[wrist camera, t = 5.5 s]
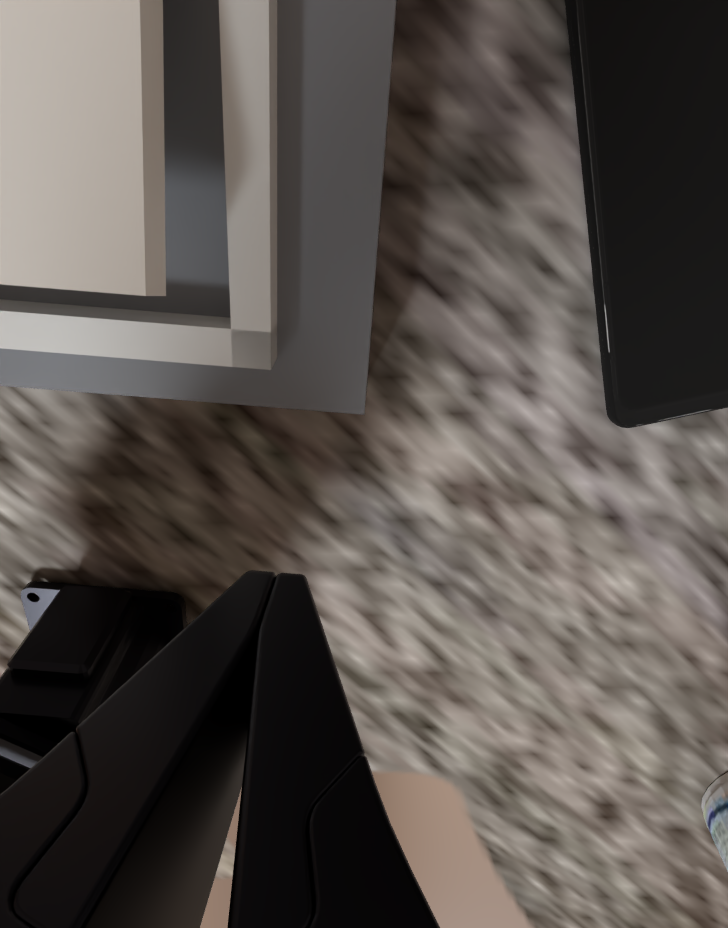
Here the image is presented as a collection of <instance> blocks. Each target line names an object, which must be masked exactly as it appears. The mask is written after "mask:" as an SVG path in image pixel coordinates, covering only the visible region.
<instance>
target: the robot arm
mask: <svg viewBox="0 0 728 928" xmlns="http://www.w3.org/2000/svg"><path fill="white" fill-rule="evenodd" d="M34 593H36V594H37V595H36V594H34ZM21 599H22V602H23V606H24V610H25V614H26V617H27V621H28V625H29V629H30V632H29V633H28V635H27V636H26V638H25V639H24V640H23V642H22V643H21V645H20V646H19V647H18V649H17V650H16V651H15V653H14V654H13V656H12V657H11V658H10V660H9V661H8V664H7V665H8V668H7V669H6V670H5V672H4V673H3V675H2V676H1V677H0V928H200V925H201V922H202V918H203V915H204V912H205V908H206V905H207V901H208V898H209V894H210V891H211V888H212V885H213V881H214V878H215V874H216V871H217V868H218V864H219V861H220V858H221V854H222V851H223V847H224V844H225V841H226V837H227V834H228V830H229V827H230V824H231V820H232V817H233V814H234V810H235V807H236V804H237V800H238V797H239V793H240V790H241V787H242V791H241V801H240V811H239V821H238V831H237V841H236V850H235V860H234V870H233V880H232V890H231V899H230V910H229V919H228V928H440V927H439V925H438V923H437V921H436V919H435V917H434V915H433V913H432V911H431V909H430V907H429V905H428V902H427V901H426V898H425V896H424V894H423V892H422V890H421V888H420V886H419V884H418V882H417V880H416V878H415V877H414V874H413V872H412V870H411V868H410V866H409V863H408V861H407V859H406V857H405V855H404V852H403V850H402V848H401V846H400V843H399V841H398V839H397V837H396V835H395V832H394V830H393V828H392V826H391V824H390V821H389V818H388V816H387V813H386V810H385V808H384V805H383V802H382V800H381V797H380V794H379V792H378V789H377V786H376V784H375V781H374V778H373V775H372V772H371V769H370V766H369V763H368V760H367V758H366V757H365V756H364V749H363V746H362V743H361V740H360V737H359V734H358V731H357V728H356V725H355V722H354V719H353V716H352V713H351V710H350V707H349V704H348V701H347V698H346V695H345V692H344V689H343V686H342V683H341V680H340V677H339V674H338V671H337V668H336V665H335V662H334V659H333V656H332V653H331V650H330V647H329V644H328V641H327V638H326V635H325V632H324V629H323V626H322V623H321V620H320V617H319V614H318V611H317V608H316V605H315V602H314V599H313V597H312V594H311V591H310V588H309V585H308V582H307V579H306V577H305V576H304V575H302V574H291V573H279V574H278V575H277V576H276V575H275V573H273V572H267V571H255V570H251V571H248V572H246V573H245V574H244V575H242V576H241V577H240V578H239V579H238V580H237V581H236V582H235V583H234V584H233V585H232V586H230V587H229V588H228V589H227V590H226V591H225V592H224V593H223V594H222V595H221V596H220V597H218V598H217V599H216V600H215V601H214V602H213V603H212V604H211V605H210V606H209V607H207V608H206V609H205V610H204V611H203V612H202V613H201V614H200V615H199V616H198V617H197V618H195V619H194V620H193V621H192V622H191V623H190V624H189V625H188V626H187V621H186V610H185V602H184V599H183V598H182V597H181V596H180V595H178V594H177V593H173V592H162V591H150V590H137V589H125V588H112V587H100V586H88V585H75V584H63V583H50V582H38V581H34V582H30V583H28V584H27V585H26V587H25V588H24V589H23V590H22V592H21ZM168 604H172V605H173V606H170V605H168Z"/></svg>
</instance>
